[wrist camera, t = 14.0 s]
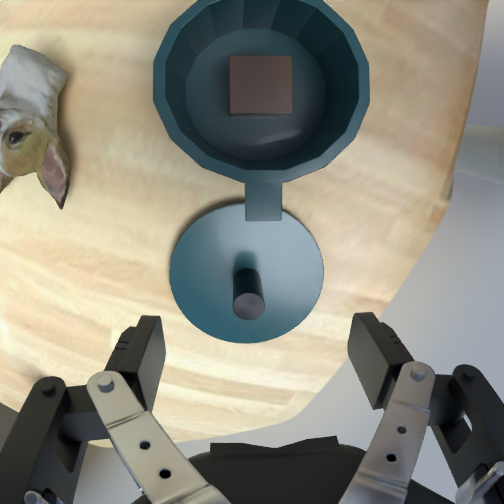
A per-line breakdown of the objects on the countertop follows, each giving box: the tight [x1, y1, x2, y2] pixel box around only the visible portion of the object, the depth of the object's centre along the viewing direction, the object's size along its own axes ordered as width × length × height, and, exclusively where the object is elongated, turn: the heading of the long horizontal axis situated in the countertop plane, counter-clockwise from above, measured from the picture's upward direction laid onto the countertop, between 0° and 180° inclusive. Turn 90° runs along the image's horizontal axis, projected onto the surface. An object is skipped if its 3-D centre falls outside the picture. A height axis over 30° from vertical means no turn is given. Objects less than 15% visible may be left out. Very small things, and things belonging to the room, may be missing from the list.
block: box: [229, 55, 293, 117], centre depth 23 cm, size 4×4×4 cm
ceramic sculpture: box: [0, 45, 70, 210], centre depth 21 cm, size 11×9×15 cm
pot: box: [153, 0, 370, 221], centre depth 21 cm, size 14×19×8 cm
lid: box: [170, 202, 324, 343], centre depth 28 cm, size 15×15×6 cm
